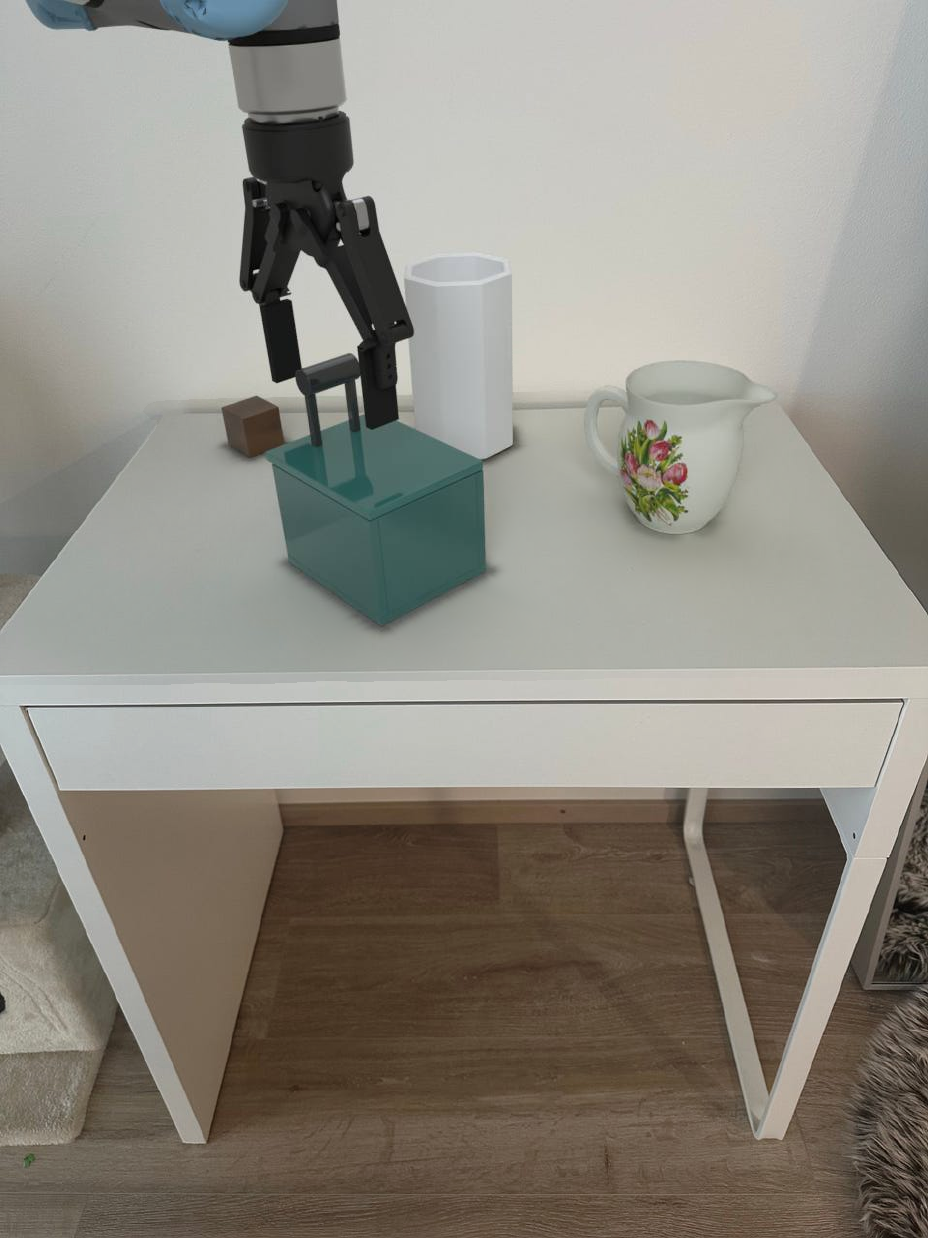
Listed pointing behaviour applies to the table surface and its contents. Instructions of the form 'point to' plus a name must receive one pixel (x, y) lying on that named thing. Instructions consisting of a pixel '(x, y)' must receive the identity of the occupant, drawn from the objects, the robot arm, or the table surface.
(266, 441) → the block
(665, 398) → the pitcher
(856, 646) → the table surface
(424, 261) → the cup
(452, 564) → the tin
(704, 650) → the table surface
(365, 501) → the lid
